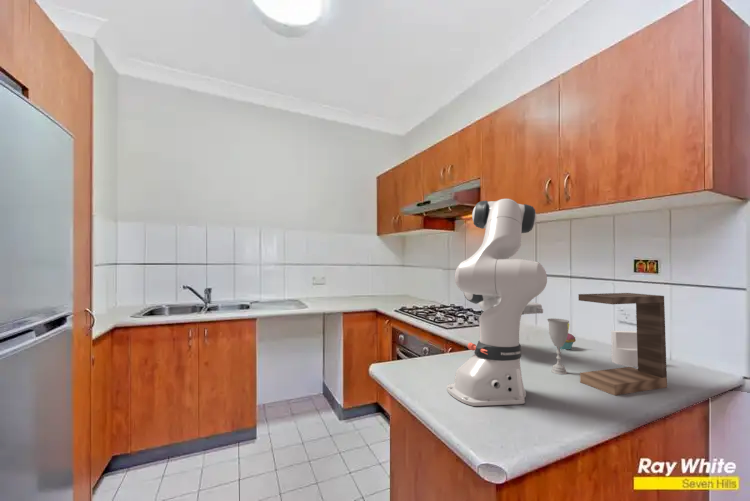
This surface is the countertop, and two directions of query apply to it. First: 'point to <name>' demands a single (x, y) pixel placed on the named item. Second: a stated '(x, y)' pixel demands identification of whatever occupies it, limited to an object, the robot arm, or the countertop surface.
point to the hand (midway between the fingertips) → (532, 311)
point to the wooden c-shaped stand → (648, 347)
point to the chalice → (558, 340)
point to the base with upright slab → (624, 348)
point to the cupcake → (568, 341)
